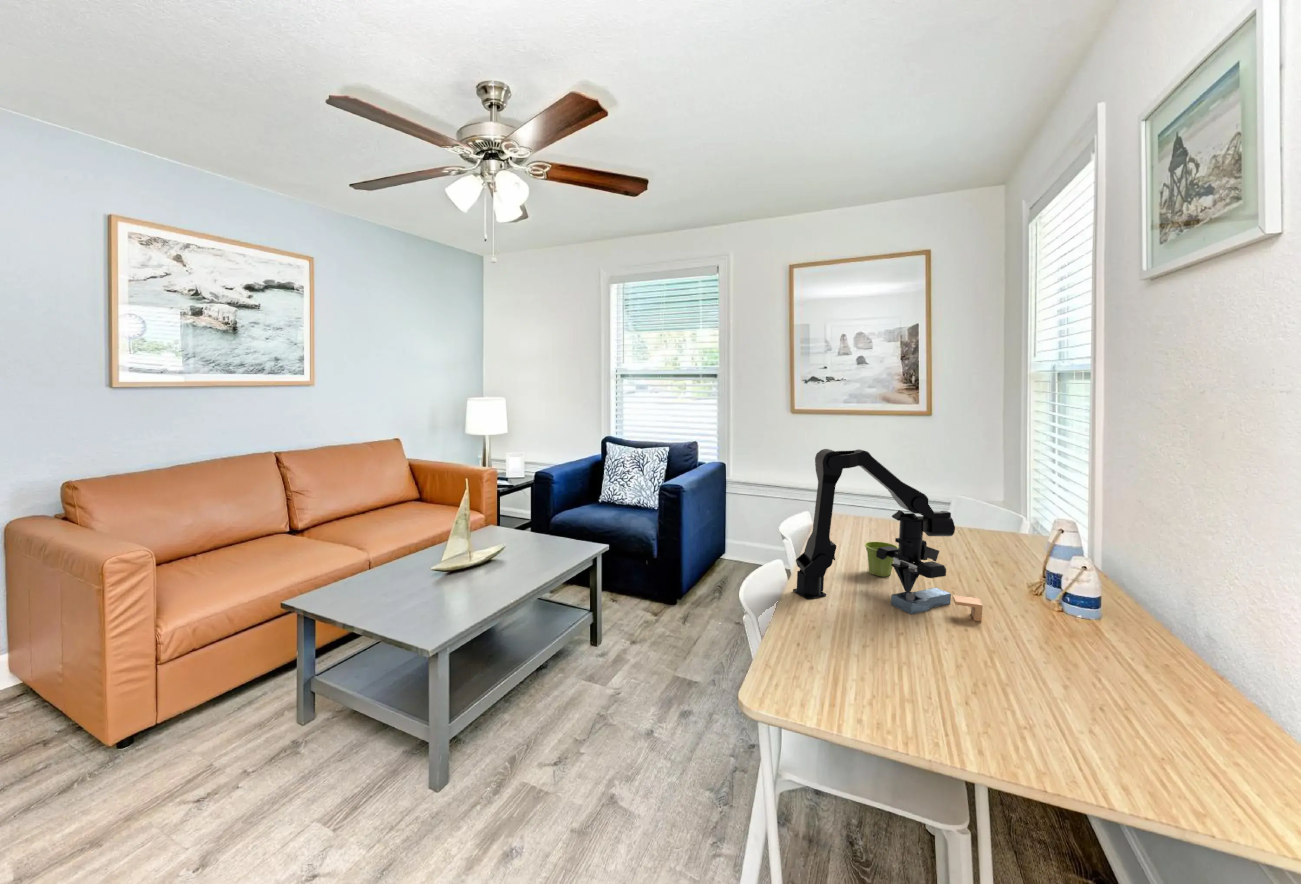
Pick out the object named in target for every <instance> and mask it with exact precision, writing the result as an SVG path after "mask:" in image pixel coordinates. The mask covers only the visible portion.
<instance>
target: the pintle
mask: <svg viewBox="0 0 1301 884" xmlns="http://www.w3.org/2000/svg"><path fill="white" fill-rule="evenodd" d="M911 592H912V591H910V592H908V593H907V594H906V599H907V600H910V601H914V599H915V596H914V594H913V593H911Z"/></svg>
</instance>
